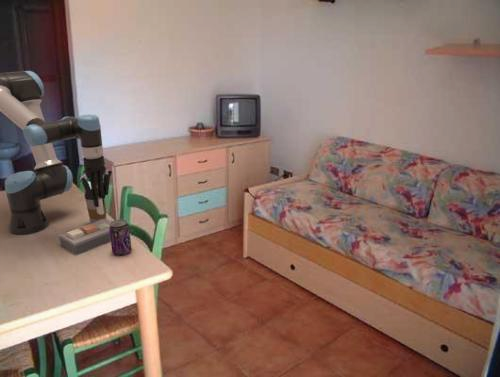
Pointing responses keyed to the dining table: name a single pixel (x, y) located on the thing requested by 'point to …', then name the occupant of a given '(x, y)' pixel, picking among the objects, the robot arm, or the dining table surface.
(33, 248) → the dining table surface
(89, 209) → the coffee cup
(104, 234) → the keypad
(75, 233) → the key cream
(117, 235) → the beverage can
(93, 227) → the key terracotta
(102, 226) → the key sage
